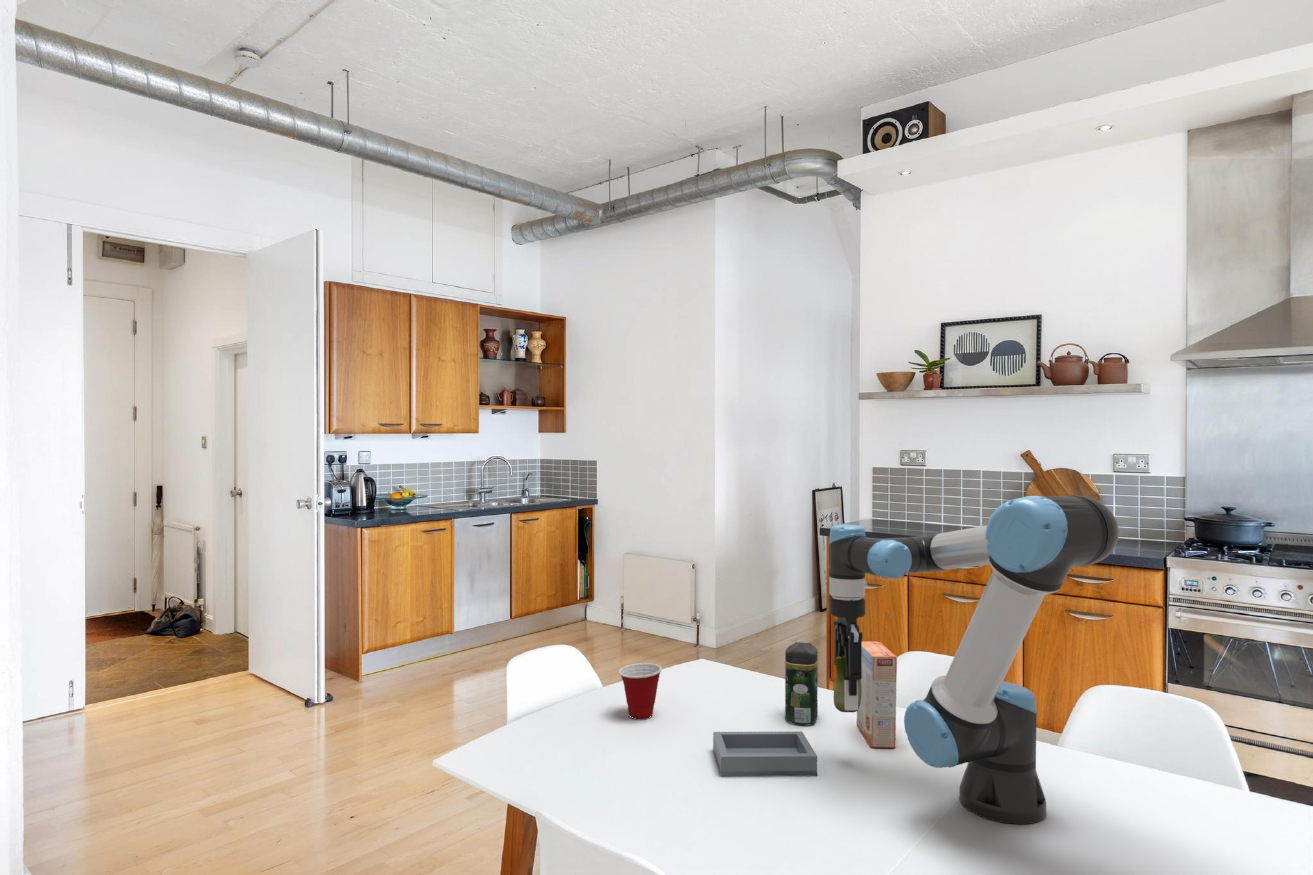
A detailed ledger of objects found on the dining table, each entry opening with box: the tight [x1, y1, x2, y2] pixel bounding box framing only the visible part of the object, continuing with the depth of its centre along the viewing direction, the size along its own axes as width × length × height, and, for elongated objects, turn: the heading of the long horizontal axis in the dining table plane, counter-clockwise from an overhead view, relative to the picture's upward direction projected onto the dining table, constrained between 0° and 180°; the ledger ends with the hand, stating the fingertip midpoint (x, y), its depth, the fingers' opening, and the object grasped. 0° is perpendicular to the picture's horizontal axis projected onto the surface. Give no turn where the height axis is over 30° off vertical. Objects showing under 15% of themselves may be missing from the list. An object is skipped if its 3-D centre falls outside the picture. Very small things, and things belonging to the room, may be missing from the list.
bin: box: [712, 730, 818, 777], centre depth 169 cm, size 14×20×4 cm
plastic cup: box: [618, 662, 663, 720], centre depth 197 cm, size 11×11×12 cm
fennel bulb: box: [833, 656, 862, 713], centre depth 170 cm, size 6×5×12 cm
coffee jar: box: [784, 641, 819, 726], centre depth 196 cm, size 10×8×19 cm
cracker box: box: [856, 640, 898, 749], centre depth 184 cm, size 14×6×21 cm, turn 179°
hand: (847, 705), depth 169 cm, fingers closed on fennel bulb, 5 cm apart
